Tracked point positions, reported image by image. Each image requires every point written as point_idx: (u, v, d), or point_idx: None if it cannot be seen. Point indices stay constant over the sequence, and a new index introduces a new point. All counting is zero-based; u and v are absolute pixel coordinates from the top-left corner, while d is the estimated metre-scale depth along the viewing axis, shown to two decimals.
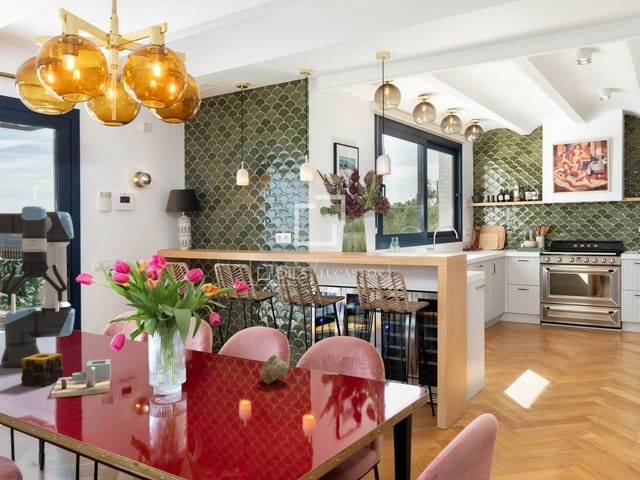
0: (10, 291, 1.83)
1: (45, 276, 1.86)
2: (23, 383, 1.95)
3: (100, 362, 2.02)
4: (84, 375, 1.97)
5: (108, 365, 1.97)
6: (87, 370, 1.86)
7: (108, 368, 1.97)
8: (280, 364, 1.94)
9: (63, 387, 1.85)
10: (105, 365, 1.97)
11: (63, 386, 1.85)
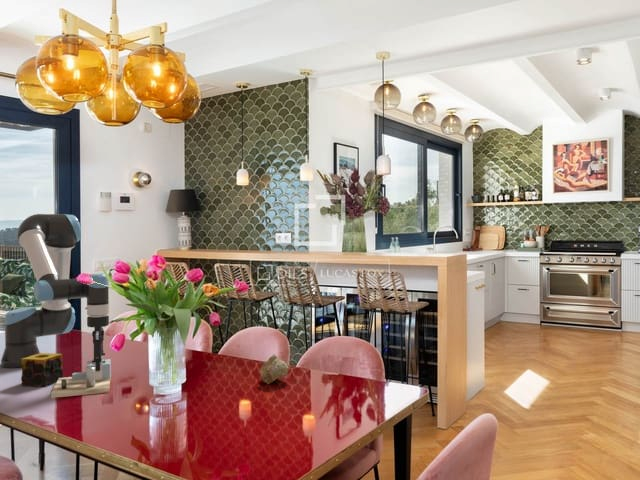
0: None
1: (93, 342, 1.97)
2: (23, 383, 1.95)
3: None
4: (84, 375, 1.97)
5: (108, 365, 1.97)
6: (87, 370, 1.86)
7: (108, 368, 1.97)
8: (280, 364, 1.94)
9: (63, 387, 1.85)
10: (105, 365, 1.97)
11: (63, 386, 1.85)
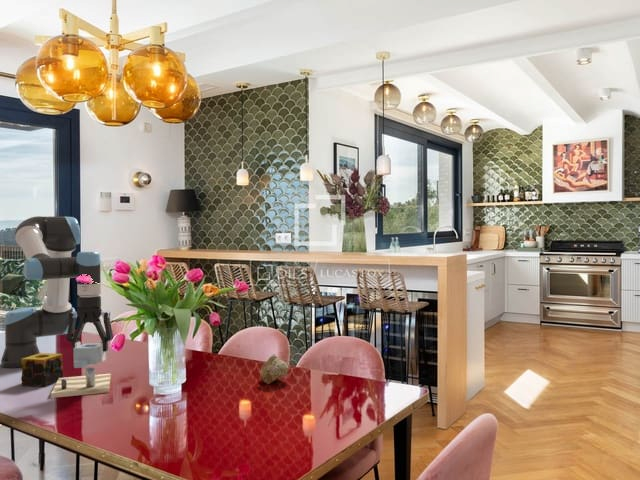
0: (73, 339, 1.86)
1: (95, 323, 1.86)
2: (23, 383, 1.95)
3: (84, 347, 1.88)
4: (88, 360, 1.83)
5: None
6: (87, 370, 1.86)
7: None
8: (280, 364, 1.94)
9: (63, 387, 1.85)
10: None
11: (63, 386, 1.85)
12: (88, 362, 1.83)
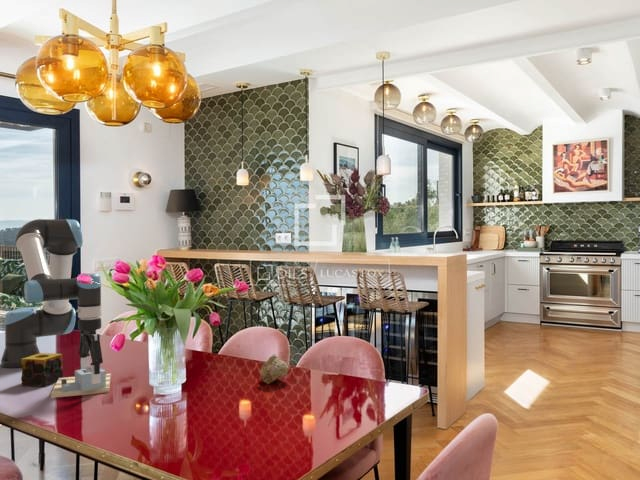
0: (80, 354, 1.92)
1: (87, 345, 1.84)
2: (23, 383, 1.95)
3: None
4: (76, 385, 1.84)
5: (104, 372, 1.87)
6: (87, 370, 1.86)
7: (104, 375, 1.87)
8: (280, 364, 1.94)
9: None
10: (101, 372, 1.86)
11: None
12: (76, 387, 1.84)
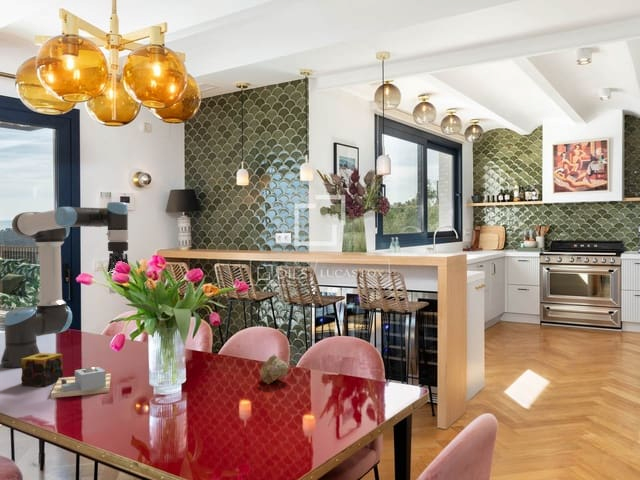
0: None
1: None
2: (23, 383, 1.95)
3: None
4: (76, 385, 1.84)
5: (104, 372, 1.87)
6: (87, 370, 1.86)
7: (104, 375, 1.87)
8: (280, 364, 1.94)
9: None
10: (101, 372, 1.86)
11: None
12: (76, 387, 1.84)
